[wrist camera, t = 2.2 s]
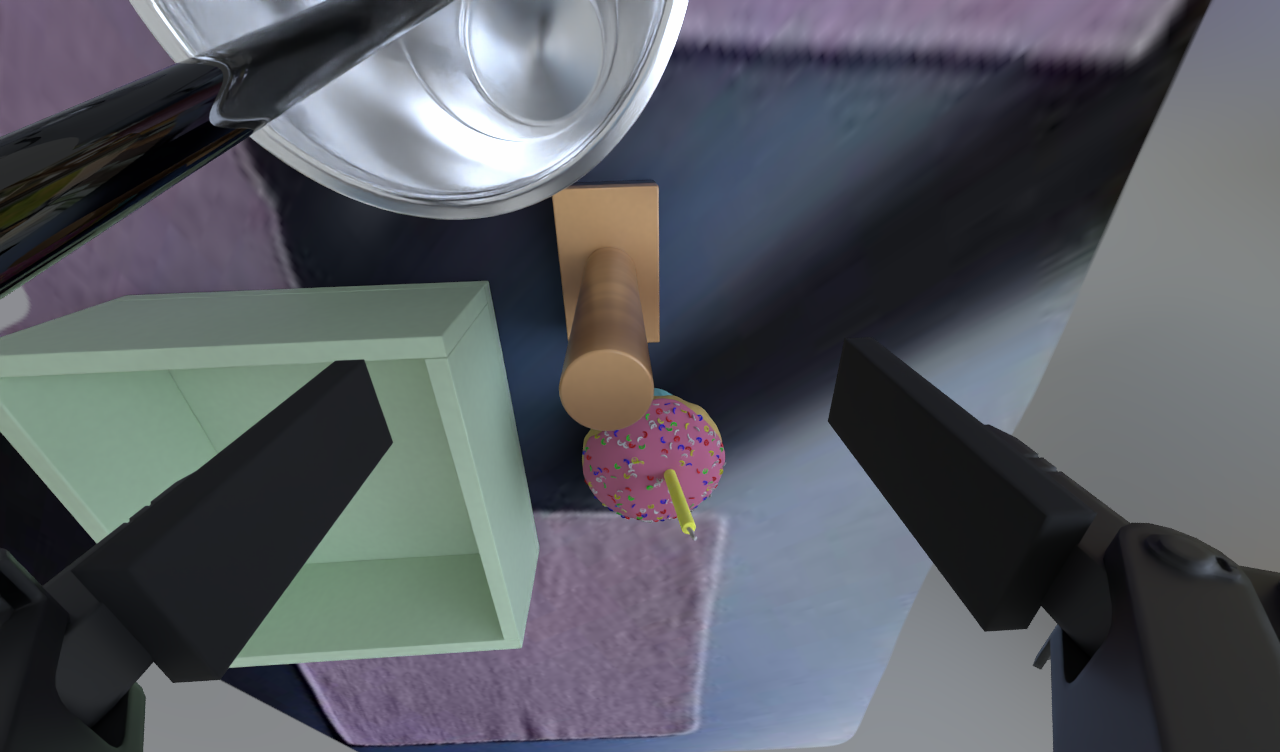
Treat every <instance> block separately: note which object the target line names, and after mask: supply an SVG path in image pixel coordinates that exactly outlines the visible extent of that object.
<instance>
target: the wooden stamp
mask: <svg viewBox="0 0 1280 752" xmlns="http://www.w3.org/2000/svg"><path fill="white" fill-rule="evenodd" d="M552 201H553V210H554V219H555V228H556V237H557V246H558V255H559V264H560V273H561V282H562V291H563V299H564V308H565V317H566V326H567V335H568V346H567V351H566V356H565V360H564V365H563V370H562V374H561V379H560V384H559V395H560V399H561V402H562V405H563V406H564V408H565V410H566V411H567V413H568V414H569V415H570V416H571V417H572V418H573V419H574V420H575V421H577V422H578V423H580V424H581V425H583V426H585V427H588V428H591V429H594V430H599V431H614V430H619V429H623V428H626V427H628V426H630V425H632V424H634V423H636V422H637V421H638V420H640V419H641V418H642V417H643V416H644V415H645V413H646V412H647V411H648V409H649V407H650V405H651V403H652V400H653V396H654V382H653V376H652V370H651V364H650V357H649V351H648V345H647V343H648V342H659V187H658V185H657V184H656V183H655V181H654V180H636V181H606V182H576V183H573V184H571V185H570V186H568V187H567V188H565V189H564V190H562V191H560V192H559V193H557V194H555V195H553V196H552Z"/></svg>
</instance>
